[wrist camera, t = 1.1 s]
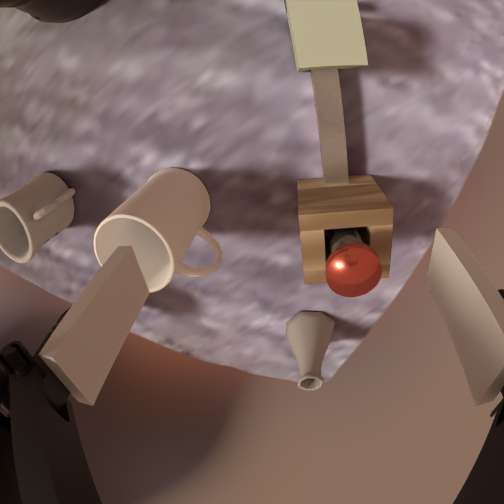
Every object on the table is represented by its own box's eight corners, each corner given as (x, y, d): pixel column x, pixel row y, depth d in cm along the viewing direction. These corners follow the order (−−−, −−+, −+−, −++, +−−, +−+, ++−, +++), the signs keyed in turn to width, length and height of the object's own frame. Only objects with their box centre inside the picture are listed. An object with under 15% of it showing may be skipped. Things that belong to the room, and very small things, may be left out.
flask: (296, 303, 41) (294, 361, 33) (343, 317, 42) (350, 374, 33) (278, 337, 45) (273, 392, 37) (321, 348, 46) (323, 402, 37)
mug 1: (50, 234, 41) (11, 270, 32) (25, 184, 36) (-19, 213, 28) (102, 211, 37) (59, 250, 29) (74, 151, 33) (22, 178, 25)
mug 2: (248, 209, 35) (229, 270, 25) (211, 259, 39) (184, 326, 29) (161, 153, 32) (106, 193, 22) (133, 210, 37) (82, 262, 27)
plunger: (318, 211, 28) (325, 252, 22) (365, 208, 27) (383, 247, 21) (321, 252, 30) (326, 298, 24) (364, 249, 29) (379, 294, 23)
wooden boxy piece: (297, 179, 32) (298, 215, 25) (371, 174, 31) (396, 208, 23) (303, 236, 36) (304, 284, 28) (371, 231, 34) (390, 277, 27)
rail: (284, 3, 22) (283, -7, 19) (334, 0, 21) (340, -11, 18) (311, 178, 32) (313, 191, 29) (356, 175, 31) (364, 188, 28)
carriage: (287, 16, 23) (285, -6, 16) (338, 13, 22) (354, -9, 15) (297, 71, 26) (299, 68, 19) (347, 68, 25) (368, 64, 18)
